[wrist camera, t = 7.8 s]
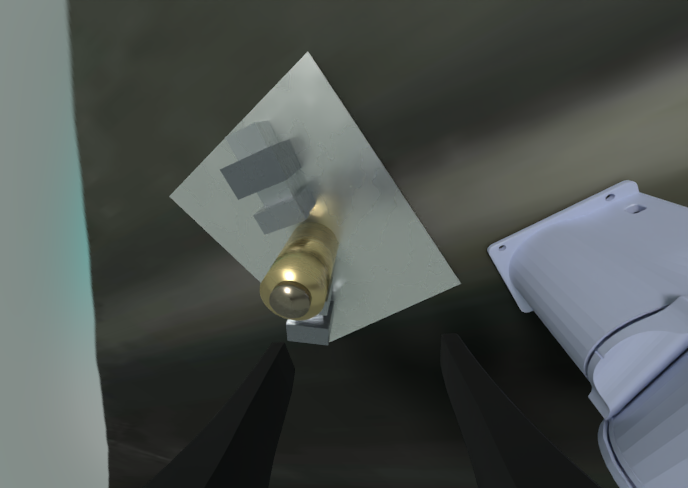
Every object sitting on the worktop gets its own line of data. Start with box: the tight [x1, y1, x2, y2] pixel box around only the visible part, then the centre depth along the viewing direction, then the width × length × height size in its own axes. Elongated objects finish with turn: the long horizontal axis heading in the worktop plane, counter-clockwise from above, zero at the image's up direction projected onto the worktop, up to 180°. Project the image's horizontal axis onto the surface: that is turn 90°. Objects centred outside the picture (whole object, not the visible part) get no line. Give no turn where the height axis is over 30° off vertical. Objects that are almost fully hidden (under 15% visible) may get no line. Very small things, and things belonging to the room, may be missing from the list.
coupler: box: [260, 222, 338, 320], centre depth 17 cm, size 4×4×7 cm
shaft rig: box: [170, 52, 461, 345], centre depth 19 cm, size 15×20×4 cm
